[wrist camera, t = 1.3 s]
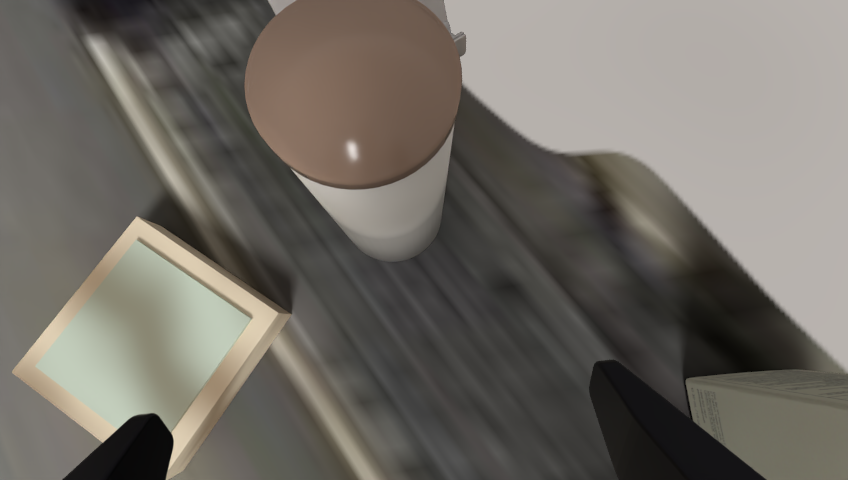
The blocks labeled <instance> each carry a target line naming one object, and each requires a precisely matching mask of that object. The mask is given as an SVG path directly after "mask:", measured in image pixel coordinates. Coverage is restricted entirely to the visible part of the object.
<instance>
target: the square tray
mask: <svg viewBox="0 0 848 480" xmlns="http://www.w3.org/2000/svg"><path fill="white" fill-rule="evenodd" d="M291 315H292V314H290V313H289V312H287V311H286V310H284V309H283V308H281V307H280V306H278V305H277V304H276V303H274V302H273V301H271V300H270V299H268V298H267V297H265V296H264V295H262V294H261V293H259V292H258V291H256V290H255V289H253V288H252V287H250V286H249V285H247V284H246V283H245V282H243V281H242V280H240V279H239V278H237V277H236V276H234V275H233V274H231V273H230V272H228V271H227V270H225V269H224V268H222V267H221V266H219V265H218V264H217V263H215V262H214V261H212V260H211V259H209V258H208V257H206V256H205V255H203V254H202V253H200V252H199V251H197V250H196V249H194V248H193V247H191V246H190V245H188V244H187V243H186V242H184V241H183V240H181V239H180V238H178V237H177V236H175V235H174V234H172V233H171V232H169V231H168V230H166V229H165V228H163V227H162V226H160V225H157V224H155V223H152V222H150V221H147V220H144V219H142V218H139V217H136V218H135V219H134V221H133V222H132V223H131V224H130V226H129V227H128V228H127V229H126V230H125V232H124V233H123V234H122V235H121V237H120V238H119V239H118V240H117V242H116V243H115V244H114V245H113V247H112V248H111V249H110V250H109V252H108V253H107V254H106V255H105V257H104V258H103V259H102V260H101V262H100V263H99V264H98V265H97V266H96V268H95V269H94V270H93V271H92V273H91V274H90V275H89V276H88V278H87V279H86V280H85V281H84V283H83V284H82V285H81V286H80V288H79V289H78V290H77V291H76V293H75V294H74V295H73V296H72V298H71V299H70V300H69V301H68V303H67V304H66V305H65V306H64V307H63V309H62V310H61V311H60V312H59V314H58V315H57V316H56V317H55V319H54V320H53V321H52V322H51V324H50V325H49V326H48V327H47V329H46V330H45V331H44V332H43V334H42V335H41V336H40V337H39V339H38V340H37V341H36V342H35V343H34V345H33V346H32V347H31V348H30V350H29V351H28V352H27V353H26V355H25V356H24V357H23V358H22V360H21V361H20V362H19V363H18V365H17V366H16V367H15V368H14V370H13V371H12V373H13V374H15V375H16V376H17V377H19V378H20V379H21V380H22V381H24V382H25V383H26V384H28V385H29V386H30V387H32V388H33V389H34V390H35V391H37V392H38V393H39V394H41V395H42V396H43V397H44V398H46V399H47V400H48V401H50V402H51V403H52V404H54V405H55V406H56V407H57V408H59V409H60V410H61V411H63V412H64V413H65V414H66V415H68V416H69V417H70V418H72V419H73V420H74V421H76V422H77V423H78V424H79V425H81V426H82V427H83V428H85V429H86V430H87V431H88V432H90V433H91V434H92V435H94V436H95V437H96V438H98V439H99V440H100V441H101V442H104V441H105V440H106V439H107V438H109V437H110V436H111V435H112V434H113V433H114V432H115V431H116V430H117V429H118V428H119V427H121V426H122V425H123V424H124V423H125V422H126V421H127V420H128V419H130V418H131V417H133V416H135V415H139V414H147V413H155V414H157V415H159V417H160V418H161V419H162V421H163V422H164V424H165V425H166V426H167V428H168V429H169V431H170V432H171V433H172V435H173V439H174V446H173V451H172V455H171V459H170V463H169V468H168V472H167V476H166V480H168V479H170V478H171V477H173V476H175V475H177V474H178V473H180V472H182V471H183V470H184V469H185V468H186V466H187V465H188V463H189V462H190V460H191V459H192V458H193V456H194V455H195V453H196V452H197V450H198V449H199V447H200V446H201V445H202V443H203V442H204V440H205V439H206V437H207V436H208V434H209V433H210V432H211V430H212V429H213V427H214V426H215V424H216V423H217V421H218V420H219V419H220V417H221V416H222V414H223V413H224V411H225V410H226V408H227V407H228V406H229V404H230V403H231V401H232V400H233V398H234V397H235V395H236V394H237V393H238V391H239V390H240V388H241V387H242V385H243V384H244V382H245V381H246V380H247V378H248V377H249V375H250V374H251V372H252V371H253V370H254V368H255V367H256V365H257V364H258V362H259V361H260V359H261V358H262V357H263V355H264V354H265V352H266V351H267V349H268V348H269V346H270V345H271V344H272V342H273V341H274V339H275V338H276V336H277V335H278V333H279V332H280V331H281V329H282V328H283V326H284V325H285V323H286V322H287V320H288V319H289V318H290V316H291Z"/></svg>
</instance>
